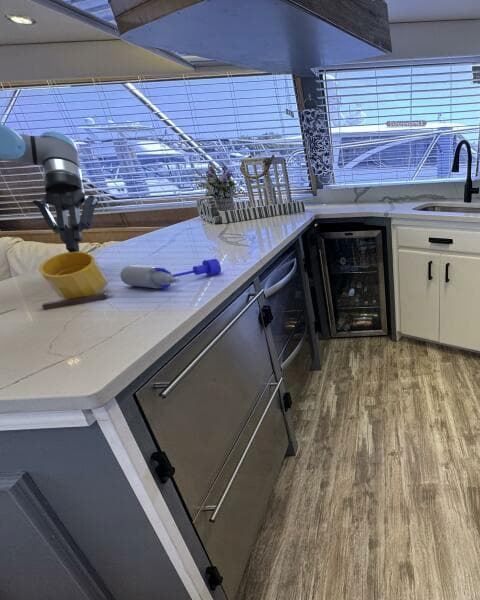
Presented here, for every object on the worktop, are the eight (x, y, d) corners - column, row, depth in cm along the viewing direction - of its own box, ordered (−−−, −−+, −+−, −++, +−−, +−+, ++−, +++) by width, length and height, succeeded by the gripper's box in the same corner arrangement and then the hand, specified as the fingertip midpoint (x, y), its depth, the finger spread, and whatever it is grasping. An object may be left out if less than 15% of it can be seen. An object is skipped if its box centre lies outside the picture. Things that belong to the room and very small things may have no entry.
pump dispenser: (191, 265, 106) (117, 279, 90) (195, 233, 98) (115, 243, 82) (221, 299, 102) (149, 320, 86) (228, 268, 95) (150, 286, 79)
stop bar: (43, 309, 77) (41, 305, 77) (46, 307, 78) (44, 302, 78) (107, 298, 82) (105, 294, 82) (108, 296, 84) (106, 292, 83)
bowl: (48, 300, 80) (28, 276, 75) (73, 274, 87) (55, 250, 82) (96, 301, 82) (79, 277, 77) (116, 275, 89) (102, 252, 84)
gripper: (100, 188, 95) (111, 254, 89) (41, 193, 90) (48, 264, 83) (86, 168, 89) (97, 238, 82) (22, 173, 83) (28, 248, 77)
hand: (73, 251), depth 83 cm, fingers closed
